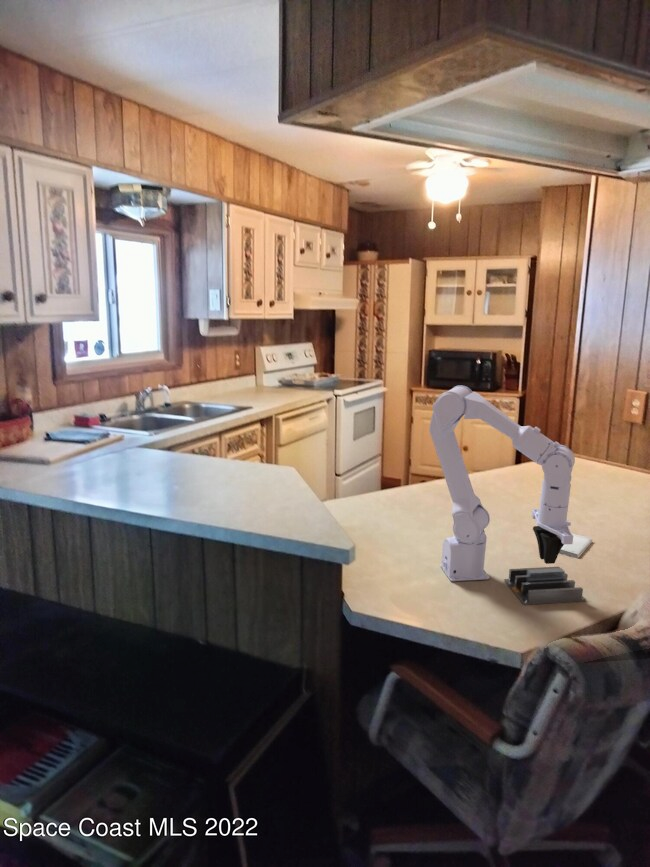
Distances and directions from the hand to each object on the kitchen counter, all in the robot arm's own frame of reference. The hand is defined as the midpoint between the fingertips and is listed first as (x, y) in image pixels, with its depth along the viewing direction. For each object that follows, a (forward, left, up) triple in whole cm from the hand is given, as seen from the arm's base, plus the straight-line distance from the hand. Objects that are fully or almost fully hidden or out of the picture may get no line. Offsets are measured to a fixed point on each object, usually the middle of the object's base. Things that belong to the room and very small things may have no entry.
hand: (547, 560), depth 134 cm
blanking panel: (0, 0, -7) cm, 7 cm away
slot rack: (0, 0, -7) cm, 7 cm away
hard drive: (+18, +22, -8) cm, 29 cm away
